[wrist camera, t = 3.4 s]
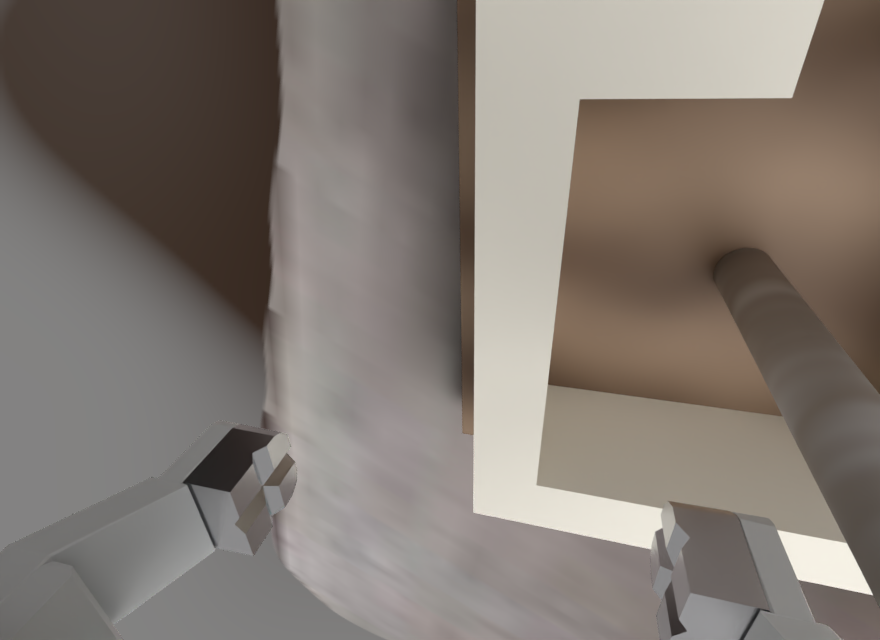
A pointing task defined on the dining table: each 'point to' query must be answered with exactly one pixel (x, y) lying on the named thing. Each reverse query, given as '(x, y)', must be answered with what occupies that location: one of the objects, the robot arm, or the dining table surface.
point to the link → (538, 272)
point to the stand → (727, 257)
